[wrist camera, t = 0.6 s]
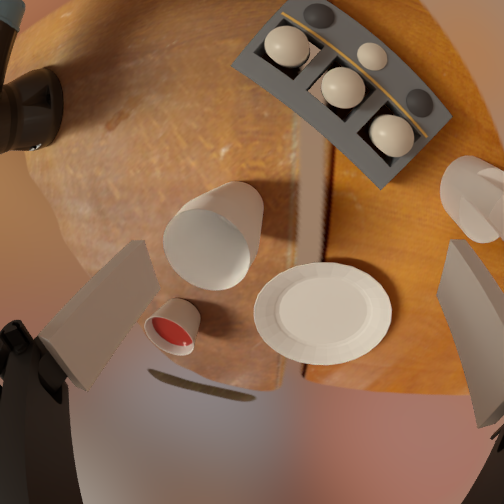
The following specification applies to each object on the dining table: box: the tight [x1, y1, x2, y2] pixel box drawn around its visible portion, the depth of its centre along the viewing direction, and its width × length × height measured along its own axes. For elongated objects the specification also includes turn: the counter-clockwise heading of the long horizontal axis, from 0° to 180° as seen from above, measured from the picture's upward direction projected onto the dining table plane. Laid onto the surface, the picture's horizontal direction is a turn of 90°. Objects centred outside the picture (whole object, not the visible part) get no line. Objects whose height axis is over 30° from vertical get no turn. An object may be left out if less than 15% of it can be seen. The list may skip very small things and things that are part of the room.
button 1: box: [264, 26, 310, 68], centre depth 22 cm, size 4×4×4 cm
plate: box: [254, 262, 392, 365], centre depth 41 cm, size 21×21×2 cm
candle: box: [145, 298, 201, 355], centre depth 46 cm, size 9×9×6 cm
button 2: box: [321, 67, 365, 108], centre depth 23 cm, size 4×4×4 cm
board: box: [231, 0, 453, 190], centre depth 24 cm, size 20×12×4 cm, turn 53°
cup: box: [163, 181, 264, 290], centre depth 31 cm, size 9×9×12 cm
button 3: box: [368, 114, 414, 157], centre depth 24 cm, size 4×4×4 cm
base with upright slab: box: [440, 155, 504, 243], centre depth 22 cm, size 9×9×12 cm
